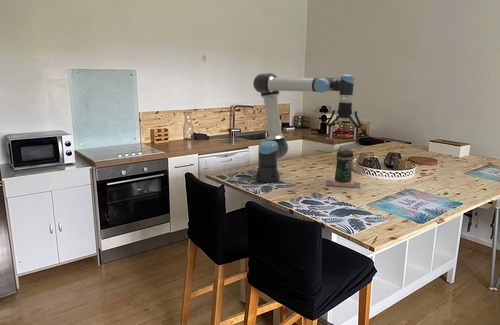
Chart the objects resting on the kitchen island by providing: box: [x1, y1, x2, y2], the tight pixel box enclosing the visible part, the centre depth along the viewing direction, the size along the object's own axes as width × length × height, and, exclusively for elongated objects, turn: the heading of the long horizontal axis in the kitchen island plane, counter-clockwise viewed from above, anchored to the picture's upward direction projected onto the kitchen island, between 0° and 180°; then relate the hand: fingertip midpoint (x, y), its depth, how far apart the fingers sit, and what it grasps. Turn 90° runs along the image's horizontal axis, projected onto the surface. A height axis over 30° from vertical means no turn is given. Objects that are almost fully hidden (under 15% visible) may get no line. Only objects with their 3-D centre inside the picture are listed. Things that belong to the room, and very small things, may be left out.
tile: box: [332, 176, 354, 188], centre depth 228 cm, size 12×2×12 cm
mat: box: [325, 179, 361, 189], centre depth 228 cm, size 20×11×1 cm, turn 76°
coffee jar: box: [334, 149, 354, 182], centre depth 225 cm, size 10×8×19 cm
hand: (342, 138), depth 224 cm, fingers open, 13 cm apart
